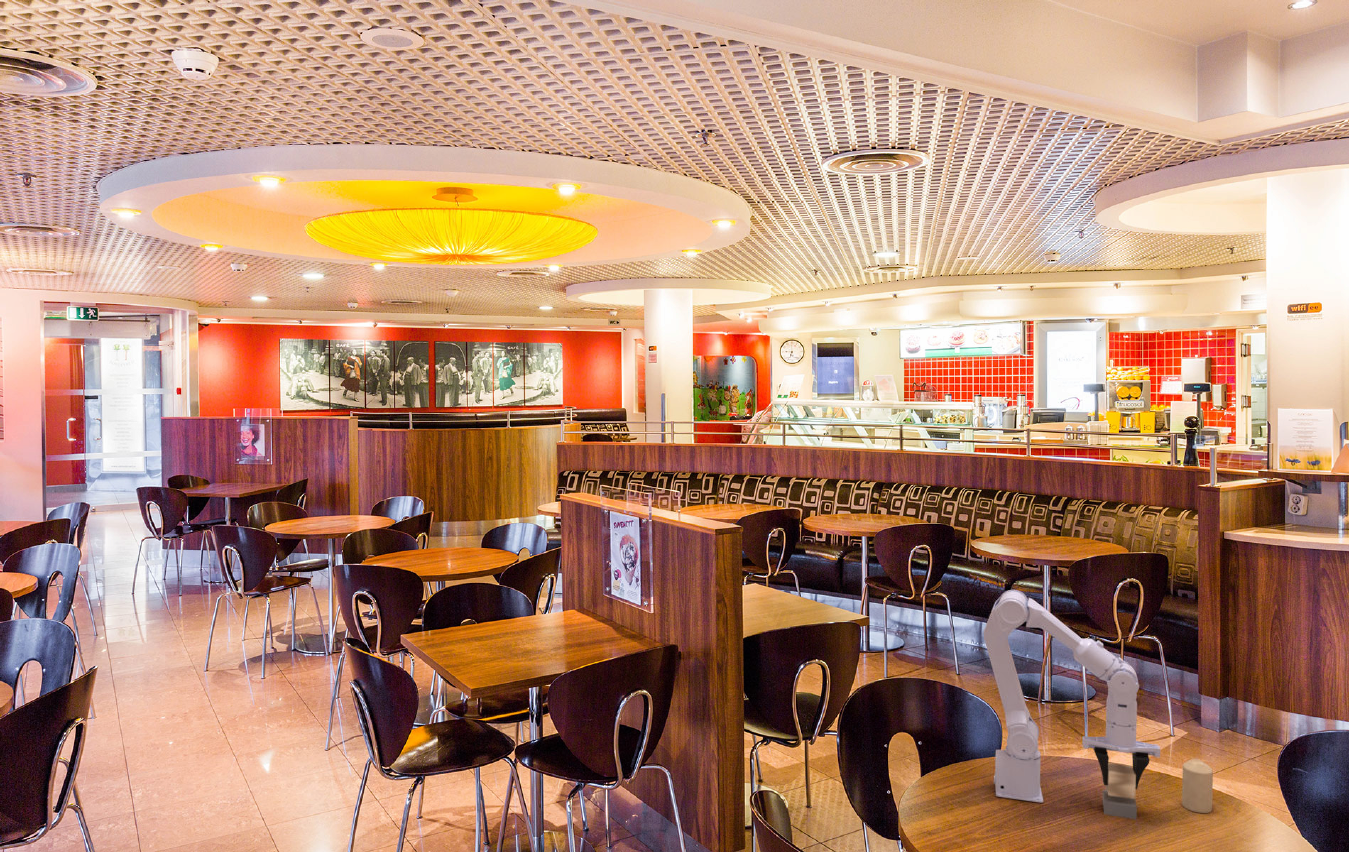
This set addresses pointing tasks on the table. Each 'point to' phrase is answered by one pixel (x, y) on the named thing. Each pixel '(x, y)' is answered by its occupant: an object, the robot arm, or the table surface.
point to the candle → (1197, 786)
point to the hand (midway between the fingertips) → (1119, 785)
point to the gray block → (1119, 806)
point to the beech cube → (1121, 781)
